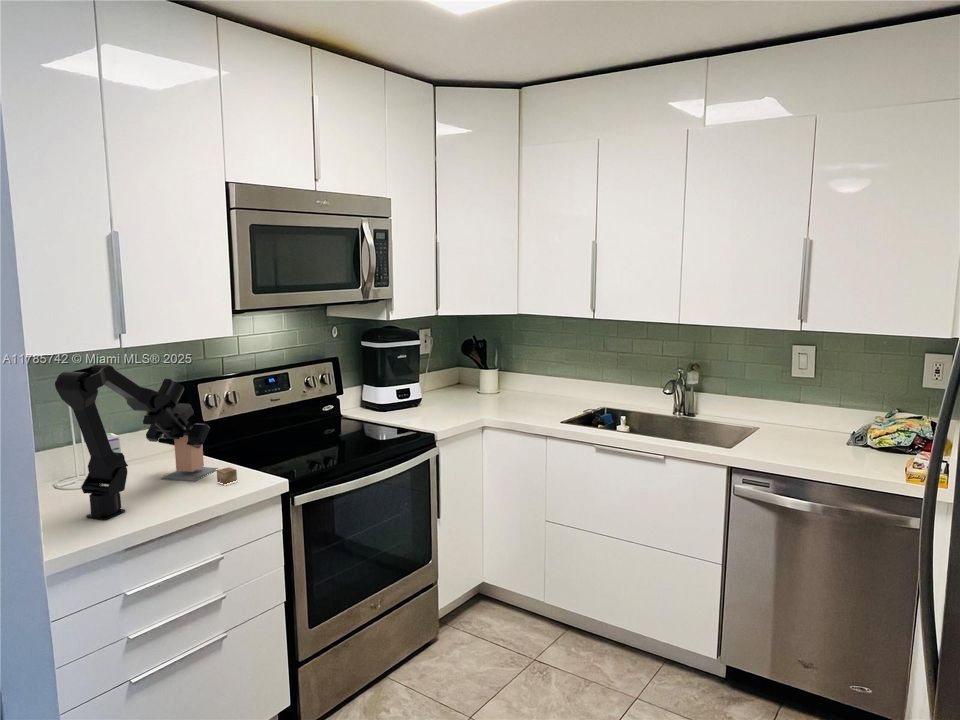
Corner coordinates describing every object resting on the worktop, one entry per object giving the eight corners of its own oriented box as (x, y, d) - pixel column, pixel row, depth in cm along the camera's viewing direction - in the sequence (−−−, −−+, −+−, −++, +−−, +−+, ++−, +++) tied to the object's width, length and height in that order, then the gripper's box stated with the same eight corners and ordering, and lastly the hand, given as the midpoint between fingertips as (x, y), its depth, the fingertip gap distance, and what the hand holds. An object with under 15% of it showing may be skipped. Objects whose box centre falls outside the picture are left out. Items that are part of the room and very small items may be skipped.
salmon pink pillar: (192, 471, 203) (189, 433, 201) (176, 470, 204) (173, 432, 202) (203, 466, 208) (201, 428, 207) (188, 465, 210) (185, 427, 208)
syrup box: (124, 482, 199) (120, 435, 197) (103, 487, 195) (98, 439, 192) (117, 478, 203) (113, 432, 201) (96, 483, 198) (91, 435, 196)
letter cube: (224, 486, 196) (223, 473, 195) (217, 483, 198) (216, 470, 198) (237, 482, 199) (236, 469, 199) (229, 479, 202) (229, 467, 201)
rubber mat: (193, 481, 200) (193, 480, 200) (162, 479, 202) (161, 477, 202) (218, 469, 211) (218, 468, 211) (187, 467, 214) (187, 465, 214)
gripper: (204, 398, 197) (228, 425, 209) (149, 395, 201) (176, 422, 213) (188, 430, 191) (214, 457, 203) (132, 426, 195) (161, 453, 207)
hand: (191, 446), depth 207 cm, fingers closed on salmon pink pillar, 6 cm apart
